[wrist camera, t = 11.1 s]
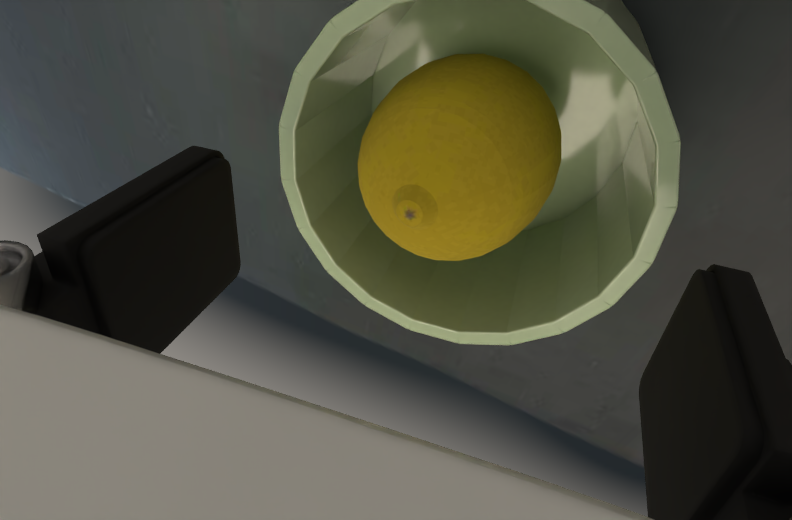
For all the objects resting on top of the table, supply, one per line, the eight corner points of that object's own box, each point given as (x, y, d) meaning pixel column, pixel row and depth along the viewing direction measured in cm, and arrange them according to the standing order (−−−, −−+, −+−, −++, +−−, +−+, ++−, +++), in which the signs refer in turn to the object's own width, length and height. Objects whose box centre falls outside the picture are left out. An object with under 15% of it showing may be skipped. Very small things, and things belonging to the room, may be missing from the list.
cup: (705, -29, 15) (768, 4, 10) (599, 259, 21) (600, 383, 16) (373, -69, 17) (269, -60, 12) (359, 204, 23) (284, 296, 18)
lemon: (487, 215, 21) (407, 340, 15) (396, 103, 20) (270, 185, 14) (615, 131, 17) (580, 249, 11) (510, -8, 16) (410, 37, 10)
